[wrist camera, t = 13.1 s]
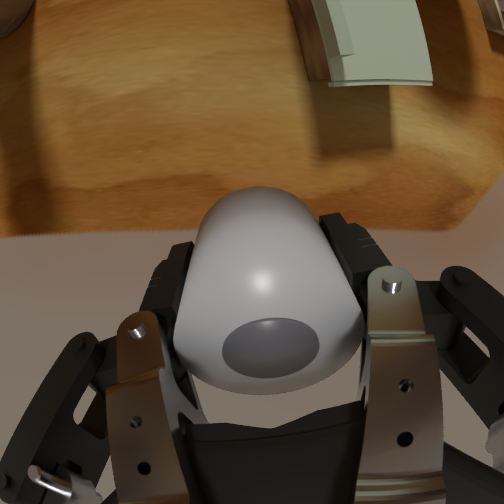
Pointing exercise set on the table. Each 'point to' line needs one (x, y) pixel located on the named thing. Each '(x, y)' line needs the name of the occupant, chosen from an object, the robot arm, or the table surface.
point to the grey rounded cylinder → (265, 298)
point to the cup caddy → (492, 16)
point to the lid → (373, 42)
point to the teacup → (501, 4)
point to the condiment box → (310, 39)
